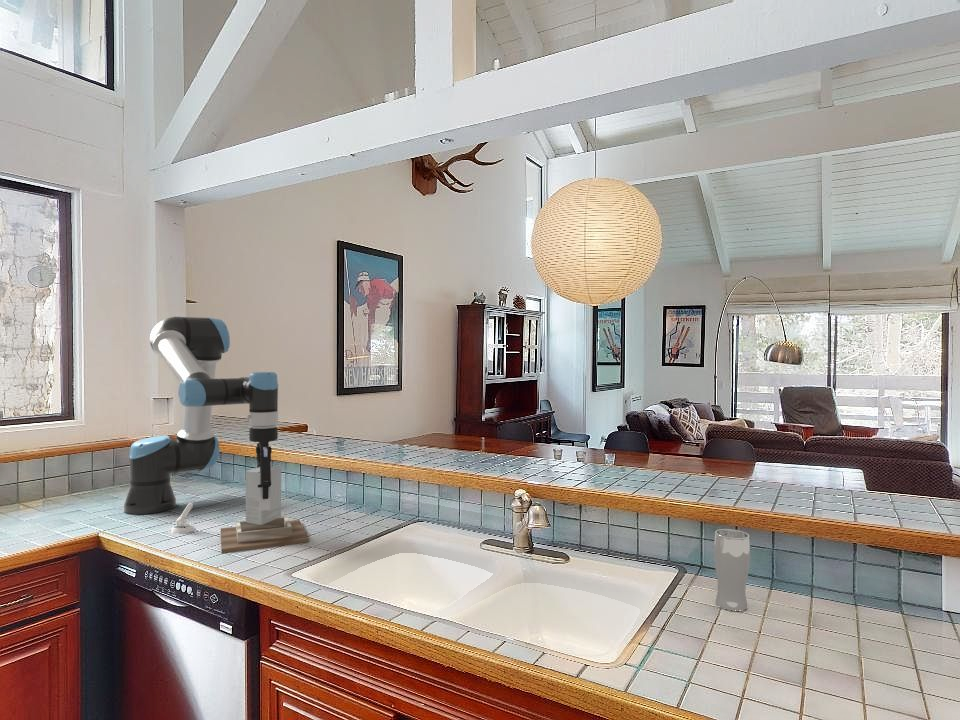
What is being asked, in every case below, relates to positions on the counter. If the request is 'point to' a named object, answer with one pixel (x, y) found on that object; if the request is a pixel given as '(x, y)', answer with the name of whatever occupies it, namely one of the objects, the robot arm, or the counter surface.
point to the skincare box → (254, 497)
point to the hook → (183, 522)
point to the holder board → (262, 535)
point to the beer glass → (731, 568)
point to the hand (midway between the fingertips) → (263, 505)
